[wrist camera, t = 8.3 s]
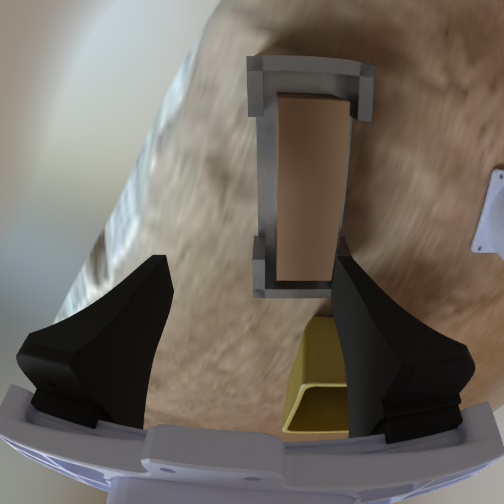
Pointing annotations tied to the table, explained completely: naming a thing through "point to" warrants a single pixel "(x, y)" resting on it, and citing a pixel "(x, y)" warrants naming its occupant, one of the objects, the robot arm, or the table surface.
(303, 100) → the block
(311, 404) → the flower pot
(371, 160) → the table surface
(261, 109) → the bracket
